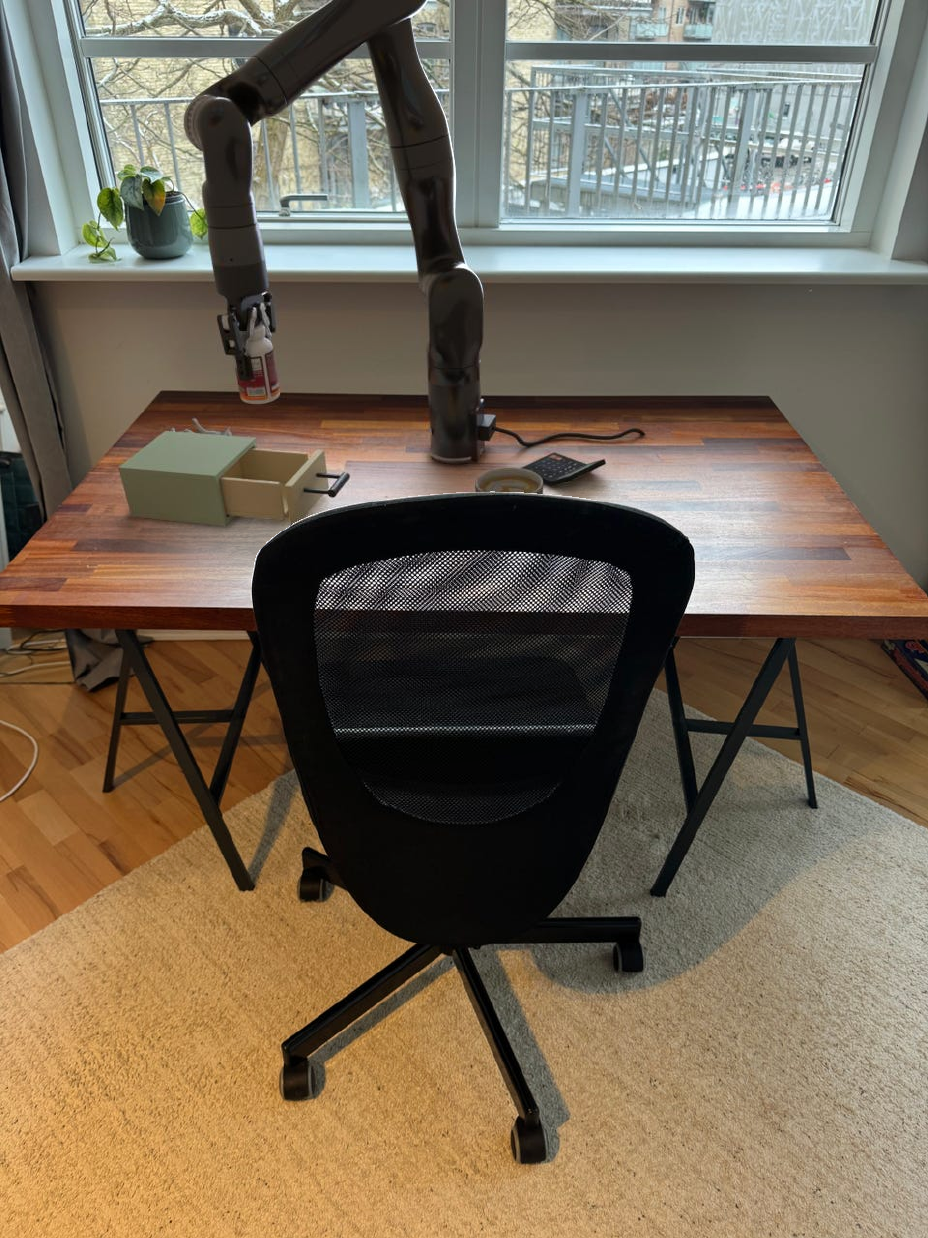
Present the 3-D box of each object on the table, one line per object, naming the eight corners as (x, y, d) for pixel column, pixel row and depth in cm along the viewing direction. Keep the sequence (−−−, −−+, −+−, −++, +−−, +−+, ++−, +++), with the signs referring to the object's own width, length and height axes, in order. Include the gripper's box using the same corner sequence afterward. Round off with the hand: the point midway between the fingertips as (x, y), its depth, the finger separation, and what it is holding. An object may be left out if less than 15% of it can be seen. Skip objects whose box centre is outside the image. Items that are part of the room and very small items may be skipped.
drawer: (359, 490, 148) (355, 452, 144) (330, 529, 137) (325, 489, 133) (243, 480, 152) (237, 442, 148) (206, 517, 141) (198, 477, 138)
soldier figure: (192, 439, 172) (243, 424, 168) (192, 462, 171) (243, 448, 167) (164, 423, 165) (217, 407, 161) (164, 447, 164) (217, 432, 160)
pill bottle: (266, 387, 142) (255, 318, 136) (288, 397, 138) (278, 326, 132) (232, 398, 139) (220, 327, 132) (254, 408, 135) (242, 335, 128)
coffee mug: (547, 555, 131) (549, 494, 125) (481, 561, 130) (480, 500, 124) (530, 513, 142) (531, 455, 136) (468, 518, 141) (467, 460, 135)
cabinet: (264, 485, 153) (255, 437, 148) (225, 526, 141) (215, 475, 136) (176, 477, 156) (165, 430, 151) (131, 516, 144) (117, 467, 139)
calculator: (553, 456, 159) (554, 441, 157) (605, 475, 152) (606, 459, 150) (518, 473, 154) (518, 457, 152) (570, 493, 147) (571, 477, 145)
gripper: (239, 270, 120) (258, 390, 130) (282, 246, 131) (297, 358, 141) (189, 268, 122) (212, 387, 131) (236, 245, 133) (254, 355, 143)
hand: (256, 371), depth 136 cm, fingers closed on pill bottle, 6 cm apart
